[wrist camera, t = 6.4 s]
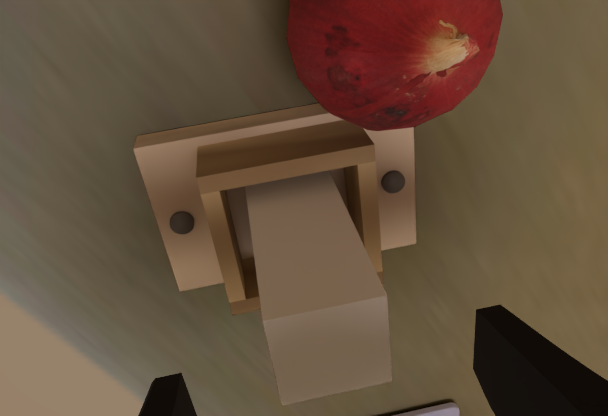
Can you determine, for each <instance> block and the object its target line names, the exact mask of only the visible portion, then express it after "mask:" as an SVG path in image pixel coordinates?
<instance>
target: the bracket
mask: <svg viewBox="0 0 608 416" xmlns="http://www.w3.org/2000/svg"><path fill="white" fill-rule="evenodd" d="M133 150H134V153H135V156H136V159H137V162H138V165H139V168H140V171H141V174H142V177H143V181H144V184H145V187H146V190H147V193H148V196H149V199H150V202H151V205H152V208H153V211H154V214H155V217H156V220H157V223H158V226H159V230H160V233H161V236H162V239H163V242H164V245H165V248H166V251H167V254H168V257H169V260H170V263H171V266H172V269H173V272H174V275H175V278H176V282H177V285H178V288H179V291H185V290H190V289H195V288H200V287H205V286H210V285H215V284H220V283H224V285H225V288H226V292H227V296H228V300H229V303H230V307H231V311H232V315H236V314H241V313H246V312H251V311H256V310H260V309H261V305H260V297H259V290H258V282H257V275H256V267H255V259H254V252H253V244H252V236H251V229H250V221H249V214H248V206H247V198H246V191H245V186H249V185H254V184H259V183H264V182H270V181H275V180H280V179H285V178H291V177H296V176H301V175H306V174H312V173H317V172H322V171H327V170H329V172H330V174H331V176H332V178H333V180H334V183H335V185H336V187H337V189H338V191H339V193H340V195H341V198H342V200H343V202H344V204H345V206H346V208H347V210H348V213H349V215H350V217H351V219H352V221H353V223H354V225H355V228H356V230H357V232H358V234H359V236H360V238H361V241H362V243H363V245H364V247H365V249H366V251H367V253H368V256H369V258H370V260H371V262H372V264H373V266H374V268H375V271H376V273H377V275H378V277H379V279H380V281H381V283H382V284H384V281H383V266H382V250H387V249H392V248H397V247H402V246H407V245H412V244H416V207H415V163H414V127H412V128H403V129H394V130H384V131H371V130H366V129H364V128H362V127H359V126H357V125H355V124H353V123H350V122H348V121H346V120H343V119H341V118H339V117H337V116H334V115H332V114H331V113H329V112H328V111H326V110H325V109H324V108H323V107H322V106H321V105H320V104H319V103H317V104H311V105H305V106H300V107H294V108H289V109H283V110H278V111H272V112H267V113H261V114H256V115H250V116H245V117H239V118H234V119H228V120H222V121H217V122H211V123H206V124H200V125H195V126H189V127H184V128H178V129H173V130H167V131H162V132H156V133H151V134H145V135H139V136H137V138H136V141H135V144H134V148H133Z"/></svg>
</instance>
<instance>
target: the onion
mask: <svg viewBox="0 0 608 416" xmlns="http://www.w3.org/2000/svg"><path fill="white" fill-rule="evenodd" d="M502 16H503V13H502V8H501V3H500V0H290V5H289V15H288V26H287V42H288V45H289V49H290V52H291V55H292V59H293V62H294V65H295V69H296V72H297V76H298V78H299V79H300V80H301V82H302V83H303V84H304V85H305V87H306V88H307V89H308V90H309V91H310V93H311V94H312V95H313V96H314V98H315V99H316V100H317V101H318V103H319V104H320V105H321V106H322V107H323V108H324V109H325V110H326V111H328V112H329V113H331V114H332V115H334V116H337V117H339V118H341V119H343V120H346V121H348V122H350V123H353V124H355V125H357V126H359V127H362V128H364V129H366V130H371V131H384V130H394V129H403V128H412V127H416V126H418V125H420V124H422V123H424V122H426V121H428V120H430V119H433V118H435V117H437V116H439V115H441V114H443V113H446V112H448V111H451V110H452V109H454V108H455V107H456V106H457V105H458V104H459V103H460V102H461V101H462V100H463V99H464V98H465V97H466V96H467V95H469V94H470V93H471V92H472V91H473V90H474V89H475V88H476V87H477V86H478V84H479V82H480V80H481V78H482V77H483V75H484V73H485V71H486V69H487V67H488V65H489V64H490V62H491V60H492V58H493V56H494V53H495V49H496V44H497V40H498V35H499V31H500V26H501V22H502Z"/></svg>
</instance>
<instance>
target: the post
mask: <svg viewBox="0 0 608 416" xmlns="http://www.w3.org/2000/svg"><path fill="white" fill-rule="evenodd" d="M245 191H246V198H247V206H248V214H249V221H250V229H251V236H252V244H253V252H254V259H255V267H256V275H257V282H258V290H259V297H260V305H261V313H262V320H263V325H264V330H265V334H266V338H267V343H268V347H269V351H270V356H271V360H272V365H273V369H274V373H275V378H276V382H277V386H278V391H279V395H280V400H281V404H282V406H283V405H288V404H292V403H297V402H301V401H306V400H310V399H315V398H319V397H324V396H329V395H333V394H338V393H342V392H347V391H351V390H356V389H360V388H365V387H369V386H374V385H378V384H383V383H387V382H392V369H391V352H390V336H389V319H388V303H387V294H386V292H385V290H384V288H383V286H382V283H381V281H380V279H379V277H378V275H377V273H376V271H375V268H374V266H373V264H372V262H371V260H370V258H369V256H368V253H367V251H366V249H365V247H364V245H363V243H362V241H361V238H360V236H359V234H358V232H357V230H356V228H355V225H354V223H353V221H352V219H351V217H350V215H349V213H348V210H347V208H346V206H345V204H344V202H343V200H342V198H341V195H340V193H339V191H338V189H337V187H336V185H335V183H334V180H333V178H332V176H331V174H330V172H329V170H327V171H322V172H317V173H312V174H306V175H301V176H296V177H291V178H285V179H280V180H275V181H270V182H264V183H259V184H254V185H249V186H245Z"/></svg>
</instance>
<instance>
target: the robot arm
mask: <svg viewBox="0 0 608 416" xmlns="http://www.w3.org/2000/svg"><path fill="white" fill-rule="evenodd" d="M473 369H474V372H475V374H476V376H477V378H478V381H479V383H480V385H481V387H482V390H483V392H484V394H485V396H486V398H487V400H488V403H489V405H490V407H491V409H492V410H493V412H494V414H495V415H496V416H608V381H607V380H606V379H604V378H602V377H601V376H599V375H598V374H596V373H595V372H593V371H592V370H590V369H589V368H587V367H586V366H584V365H583V364H581V363H580V362H579V361H577V360H576V359H574V358H573V357H571V356H570V355H568V354H567V353H566V352H564V351H563V350H561V349H560V348H558V347H557V346H556V345H554V344H553V343H552V342H550V341H549V340H547V339H546V338H545V337H543V336H542V335H541V334H539V333H538V332H537V331H535V330H534V329H532V328H531V327H530V326H528V325H527V324H526V323H524V322H523V321H522V320H520V319H519V318H518V317H516V316H515V315H514V314H512V313H511V312H510V311H508V310H507V309H505V308H504V307H503V306H501V305H496V306H491V307H487V308H482V309H477V310H476V323H475V342H474V362H473ZM138 416H197V415H196V412H195V409H194V406H193V404H192V401H191V398H190V395H189V393H188V390H187V387H186V384H185V382H184V379H183V376H182V373H178V374H174V375H169V376H164V377H160V378H155V380H154V381H153V382H152V384H151V386H150V389H149V391H148V394H147V396H146V399H145V401H144V404H143V406H142V408H141V411H140V413H139V415H138ZM393 416H460V410H459V408H458V406H457V404H455V403H446V404H441V405H437V406H432V407H428V408H423V409H419V410H415V411H410V412H406V413H401V414H397V415H393Z"/></svg>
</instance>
